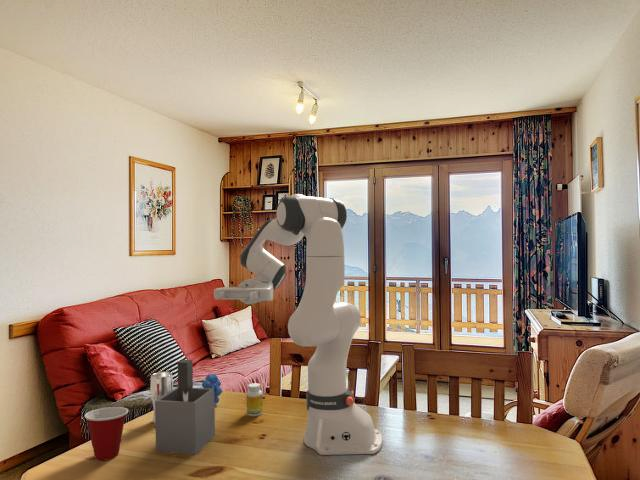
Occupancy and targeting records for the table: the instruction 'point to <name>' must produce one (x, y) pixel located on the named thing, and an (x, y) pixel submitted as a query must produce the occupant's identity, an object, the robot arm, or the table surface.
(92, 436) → the plastic cup
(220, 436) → the table surface
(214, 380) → the grapes
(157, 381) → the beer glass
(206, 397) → the box
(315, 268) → the robot arm
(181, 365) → the plunger
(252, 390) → the supplement bottle
